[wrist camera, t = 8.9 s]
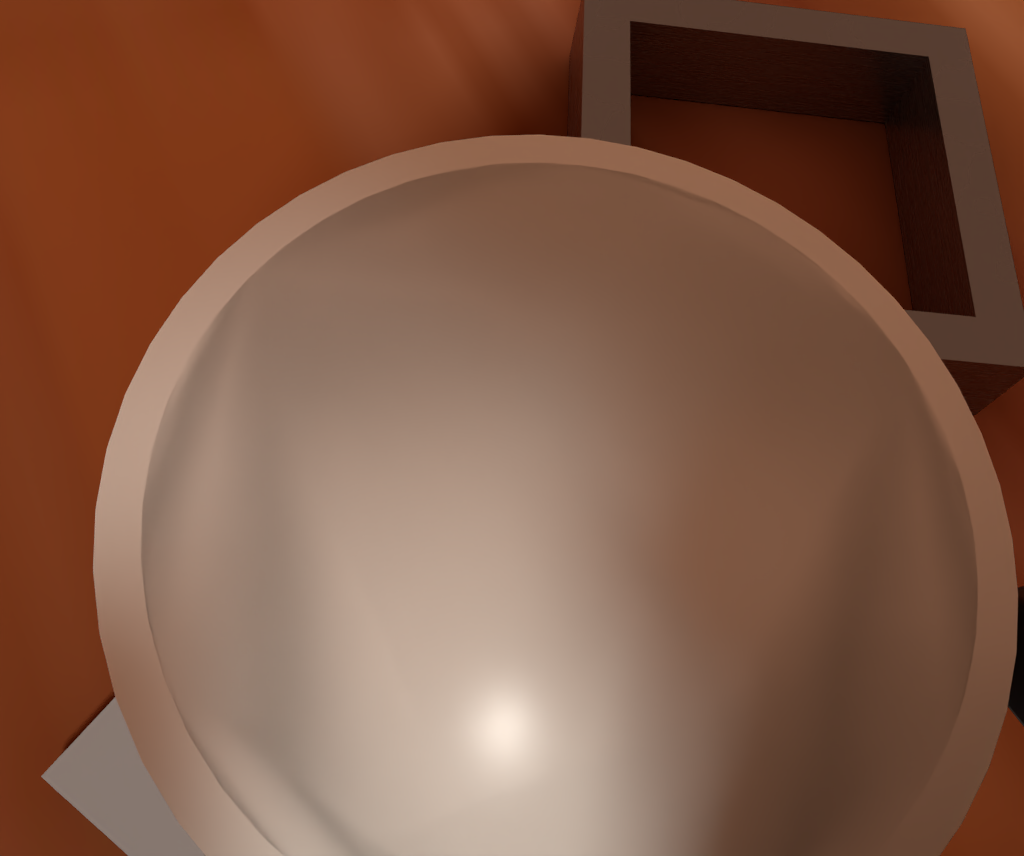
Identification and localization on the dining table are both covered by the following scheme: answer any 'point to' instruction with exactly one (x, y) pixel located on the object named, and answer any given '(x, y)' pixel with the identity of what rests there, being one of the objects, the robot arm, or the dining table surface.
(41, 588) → the dining table surface
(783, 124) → the dining table surface
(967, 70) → the reel dock
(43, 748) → the dining table surface
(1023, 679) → the robot arm
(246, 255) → the cable reel
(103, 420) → the dining table surface
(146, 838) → the rubber mat
